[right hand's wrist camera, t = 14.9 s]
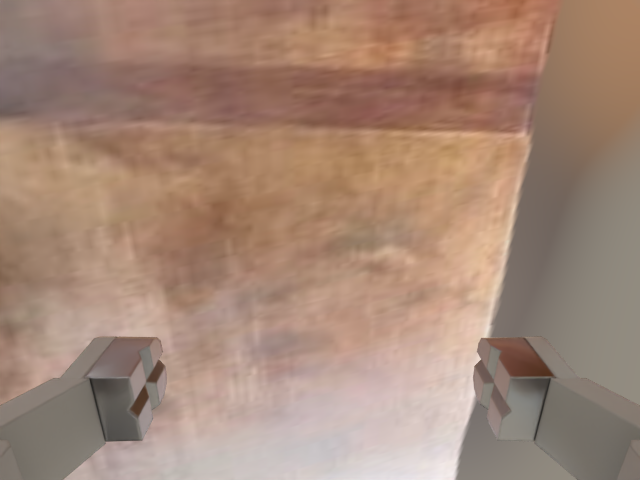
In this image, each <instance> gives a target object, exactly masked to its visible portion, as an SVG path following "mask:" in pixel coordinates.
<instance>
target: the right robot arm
mask: <svg viewBox="0 0 640 480" xmlns="http://www.w3.org/2000/svg"><path fill="white" fill-rule="evenodd" d="M162 352H163V350H162V345H161V341H160V340H159V339H158V338H157V337H97V338H94V339H93V341H92V342H91V343H90V344H89V345H88V346H87V347H86V349H85V350H84V351H83V352H82V353H81V354H80V356H79V357H78V358H77V359H76V360H75V361H74V362H73V364H72V365H71V366H70V367H69V368H68V369H67V371H66V372H65V373H64V374H63V375H62V376H61V378H53V379H51V380H49V381H47V382H45V383H43V384H41V385H39V386H37V387H35V388H33V389H31V390H30V391H28V392H26V393H24V394H22V395H20V396H18V397H16V398H14V399H12V400H10V401H8V402H6V403H4V404H2V405H0V480H63V479H64V478H65V477H67V476H68V475H69V474H70V473H71V472H73V471H74V470H75V469H76V468H77V467H78V466H80V465H81V464H82V463H83V462H84V461H85V460H87V459H88V458H89V457H90V456H91V455H93V454H94V453H95V452H96V451H97V450H98V449H100V448H101V447H102V446H103V445H104V444H105V441H139V440H143V438H144V436H145V434H146V432H147V430H148V428H149V426H150V424H151V422H152V420H153V415H152V410H153V409H154V408H156V407H157V406H158V405H160V403H161V401H162V399H163V397H164V393H165V389H166V384H167V374H166V367H165V365H164V364H163V363H162V362H161V361H160V360H159V358H160V356H161V354H162ZM477 352H478V354H479V356H480V358H481V360H480V361H479V362H478V363H477V364H476V365H475V367H474V375H473V381H474V390H475V393H476V397H477V399H478V401H479V403H480V405H482V406H483V407H484V408H486V409H487V410H488V415H487V420H488V422H489V424H490V426H491V428H492V430H493V432H494V434H495V436H496V438H497V440H500V441H535V442H534V443H535V444H536V445H537V446H538V447H539V448H541V449H542V450H543V451H544V452H545V453H547V454H548V455H549V456H550V457H551V458H552V459H553V460H555V461H556V462H557V463H558V464H559V465H561V466H562V467H563V468H564V469H565V470H566V471H568V472H569V473H570V474H571V475H572V476H573V477H575V478H576V479H577V480H640V405H638V404H636V403H634V402H632V401H630V400H628V399H626V398H624V397H622V396H620V395H618V394H616V393H614V392H612V391H610V390H608V389H606V388H605V387H603V386H601V385H599V384H597V383H595V382H593V381H591V380H589V379H587V378H579V376H578V375H577V374H576V373H575V372H574V371H573V369H572V368H571V367H570V366H569V365H568V364H567V363H566V361H565V360H564V359H563V358H562V357H561V356H560V354H559V353H558V352H557V351H556V350H555V349H554V348H553V346H552V345H551V344H550V343H549V342H548V341H547V339H545V338H543V337H541V336H537V337H518V338H481V340H480V342H479V344H478V349H477Z"/></svg>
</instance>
